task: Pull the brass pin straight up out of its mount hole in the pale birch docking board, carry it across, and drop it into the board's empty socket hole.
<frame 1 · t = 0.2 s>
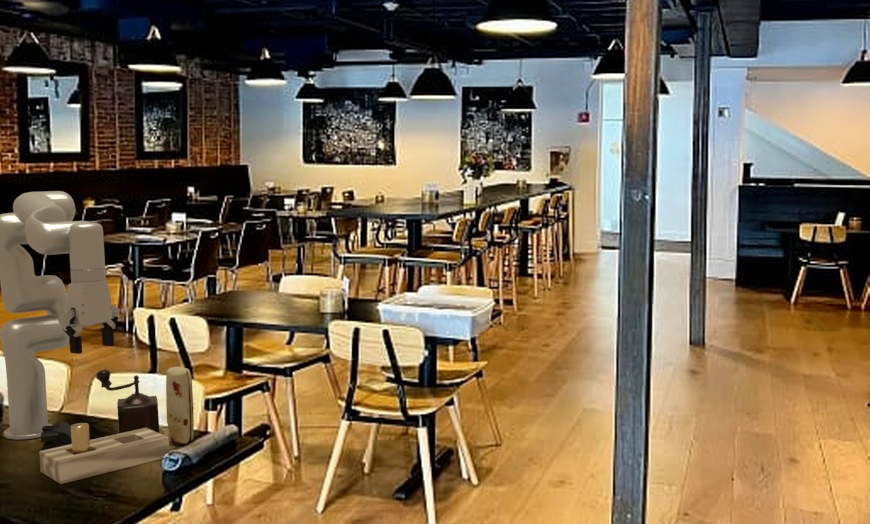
hand: (92, 349, 214), 30 cm above the table, fingers open, 9 cm apart
food model: (180, 443, 240), on the table
pin: (82, 470, 219), resting in board
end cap: (58, 453, 233), on the table
board: (106, 464, 223), on the table
manual coffee grinder: (129, 437, 246), on the table
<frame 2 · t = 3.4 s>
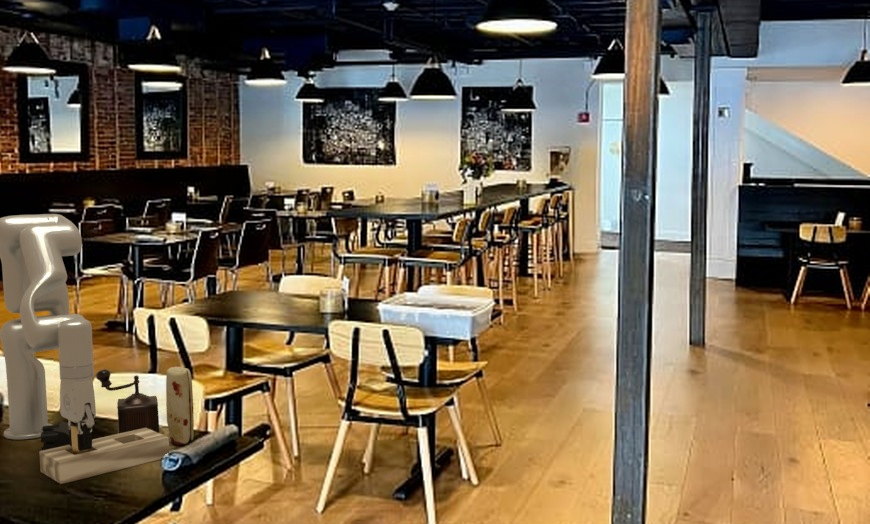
hand: (81, 446, 219), 6 cm above the table, fingers closed on pin, 4 cm apart
pin: (82, 470, 219), resting in board, touching gripper
everything else where it was.
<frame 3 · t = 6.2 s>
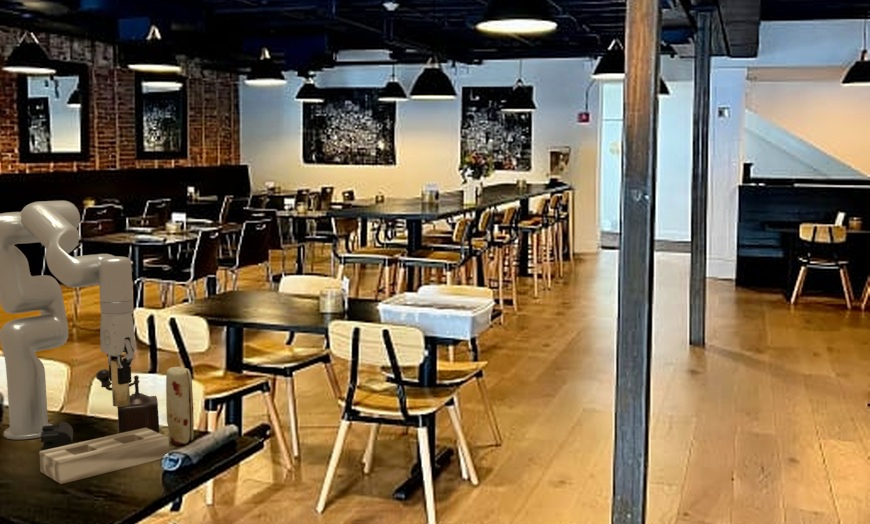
hand: (120, 381, 224), 20 cm above the table, fingers closed on pin, 4 cm apart
pin: (121, 404, 225), point 14 cm above the table, touching gripper
everything else where it was.
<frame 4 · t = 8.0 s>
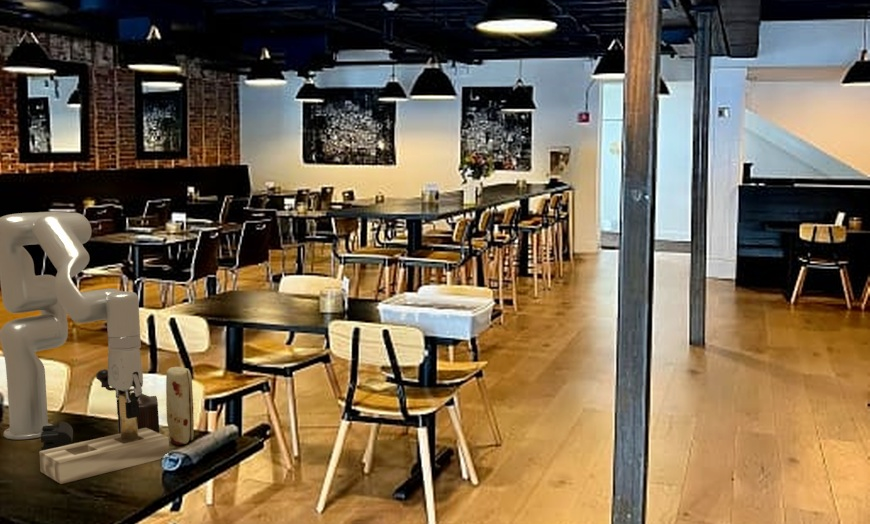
hand: (128, 414, 226), 11 cm above the table, fingers closed on pin, 4 cm apart
pin: (129, 437, 227), point 5 cm above the table, touching gripper
everything else where it was.
when the fingers open (7 cm above the table, at t = 9.5 s): pin drops 1 cm, resting in board.
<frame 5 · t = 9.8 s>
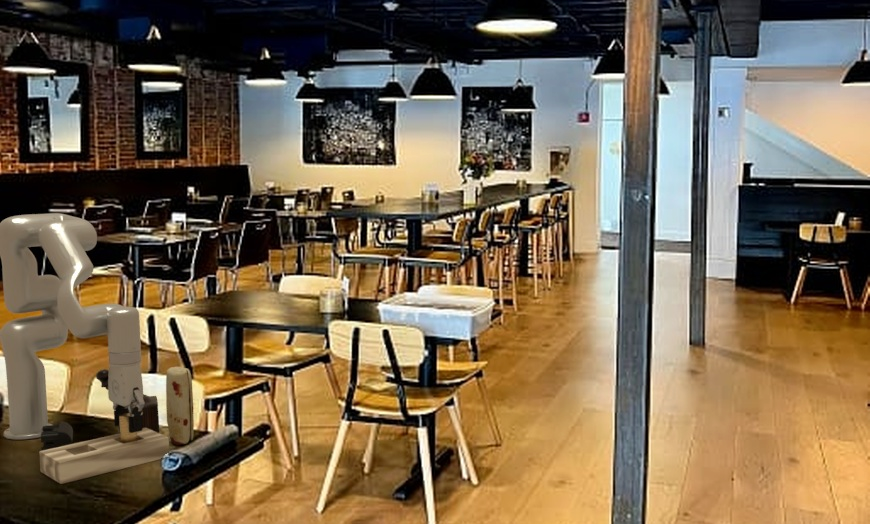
hand: (128, 427, 227), 8 cm above the table, fingers open, 7 cm apart
pin: (129, 458, 227), resting in board
everything else where it was.
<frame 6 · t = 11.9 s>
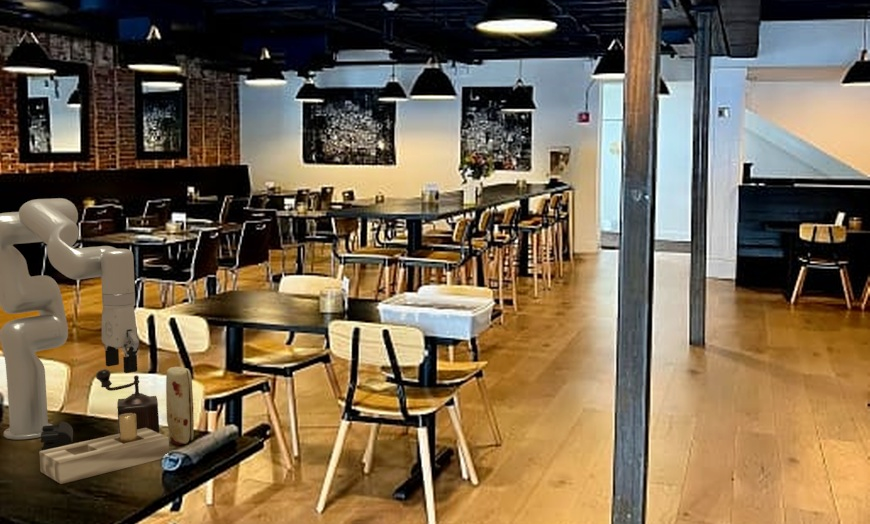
hand: (121, 368, 225), 23 cm above the table, fingers open, 9 cm apart
nothing on the table moved.
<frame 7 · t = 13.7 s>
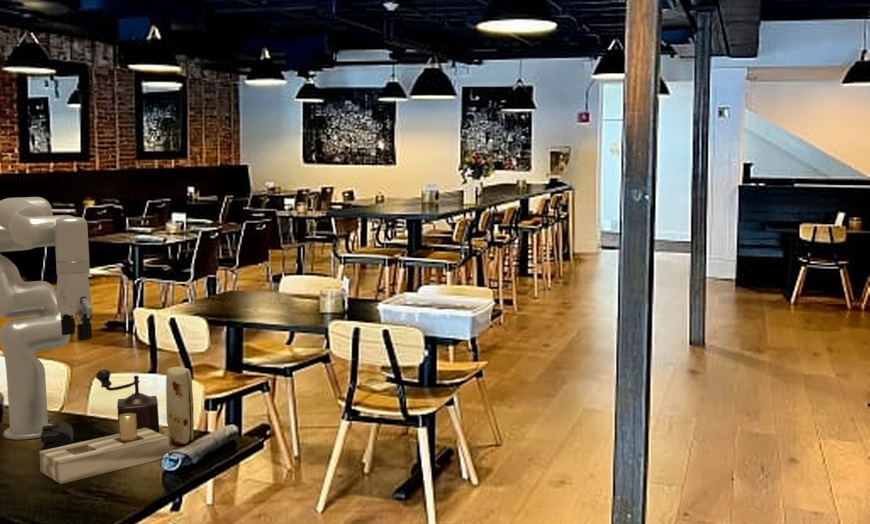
hand: (76, 336, 226), 30 cm above the table, fingers open, 9 cm apart
nothing on the table moved.
at the end: pin 0.0 cm from the target spot on the board, point 0.0 cm above the board's base; pin tilted 0°; the gripper is holding nothing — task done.
